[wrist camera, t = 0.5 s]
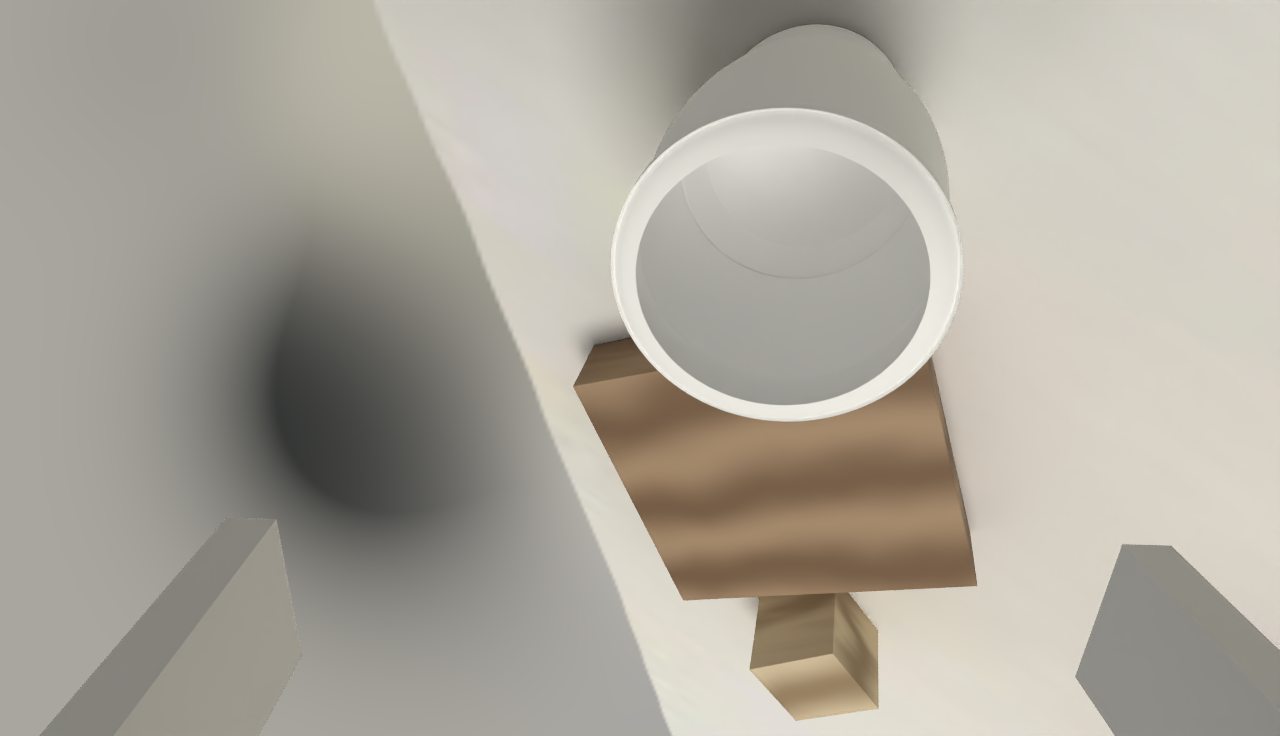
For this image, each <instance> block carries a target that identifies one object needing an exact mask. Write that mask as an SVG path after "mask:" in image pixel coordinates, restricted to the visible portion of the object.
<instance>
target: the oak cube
mask: <svg viewBox="0 0 1280 736" xmlns="http://www.w3.org/2000/svg"><path fill="white" fill-rule="evenodd" d="M750 671H751V672H752V673H753V674H754V675H755V676H756V677H757V678H758V679H759V681H760V682H761V683H762V684H763V685H764V686H765V687H766V688H767V689H768V690H769V691H770V693H771V694H772V695H773V696H774V697H775V698H776V699H777V700H778V701H779V702H780V704H781V705H782V706H783V707H784V708H785V709H786V710H787V711H788V712H789V713H790V715H791V716H792V717H793V718H794V719H795V720H796V721H798V720H804V719H811V718H818V717H825V716H832V715H838V714H845V713H852V712H859V711H865V710H872V709H878V630H877V629H876V628H875V626H874V625H873V624H872V622H871V621H870V620H869V619H868V617H867V616H866V615H865V613H864V612H863V611H862V610H861V608H860V607H859V606H858V604H857V603H856V602H855V601H854V599H853V598H852V597H851V596H850V594H849V593H848V592H843V593H822V594H802V595H782V596H761V597H760V599H759V606H758V613H757V621H756V628H755V635H754V642H753V649H752V656H751V663H750Z"/></svg>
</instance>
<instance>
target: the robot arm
mask: <svg viewBox="0 0 1280 736" xmlns="http://www.w3.org/2000/svg"><path fill="white" fill-rule="evenodd" d="M301 657H302V652H301V647H300V642H299V636H298V631H297V626H296V620H295V615H294V610H293V605H292V599H291V594H290V589H289V584H288V578H287V573H286V568H285V563H284V557H283V552H282V547H281V542H280V536H279V532H278V526H277V521H276V519H247V518H226V519H225V520H224V521H223V522H222V523H221V525H220V526H219V527H218V528H217V529H216V530H215V531H214V533H213V534H212V535H211V536H210V537H209V539H208V540H207V541H206V542H205V543H204V544H203V545H202V547H201V548H200V549H199V550H198V551H197V552H196V554H195V555H194V556H193V557H192V558H191V559H190V561H189V562H188V563H187V564H186V565H185V566H184V568H183V569H182V570H181V571H180V572H179V573H178V575H177V576H176V577H175V578H174V579H173V580H172V582H171V583H170V584H169V585H168V586H167V587H166V589H165V590H164V591H163V592H162V593H161V594H160V596H159V597H158V598H157V599H156V600H155V601H154V603H153V604H152V605H151V606H150V607H149V608H148V610H147V611H146V612H145V613H144V615H142V617H141V618H140V619H139V620H138V621H137V622H136V624H135V625H134V626H133V627H132V628H131V630H130V631H129V632H128V633H127V634H126V635H125V636H124V638H123V639H122V640H121V641H120V642H119V643H118V645H117V646H116V647H115V648H114V649H113V650H112V652H111V653H110V654H109V655H108V656H107V658H106V659H105V660H104V661H103V662H102V663H101V665H100V666H99V667H98V668H97V669H96V670H95V672H94V673H93V674H92V675H91V676H90V678H88V680H87V681H86V682H85V683H84V684H83V685H82V687H81V688H80V689H79V690H78V691H77V693H76V694H75V695H74V696H73V697H72V699H70V701H69V702H68V703H67V704H66V705H65V707H64V708H63V709H62V710H61V711H60V712H59V713H58V715H57V716H56V717H55V718H54V719H53V721H52V722H51V723H50V724H49V725H48V726H47V727H46V729H45V730H44V731H43V732H42V733H41V734H40V736H259V734H260V733H261V731H262V729H263V727H264V725H265V723H266V722H267V720H268V718H269V716H270V714H271V712H272V711H273V709H274V707H275V705H276V703H277V701H278V700H279V698H280V696H281V694H282V692H283V690H284V689H285V687H286V685H287V683H288V681H289V679H290V677H291V676H292V674H293V672H294V670H295V668H296V666H297V665H298V663H299V661H300V659H301ZM1075 677H1076V679H1077V680H1078V682H1079V683H1080V685H1081V686H1082V688H1083V689H1084V690H1085V692H1086V693H1087V695H1088V696H1089V698H1090V699H1091V701H1092V702H1093V704H1094V705H1095V707H1096V708H1097V710H1098V711H1099V713H1100V714H1101V716H1102V717H1103V719H1104V720H1105V722H1106V723H1107V724H1108V726H1109V727H1110V729H1111V730H1112V732H1113V733H1114V735H1115V736H1280V650H1279V649H1278V648H1277V647H1275V646H1274V645H1273V644H1272V643H1271V642H1270V641H1269V640H1268V639H1267V638H1266V637H1265V636H1264V635H1263V634H1262V633H1261V632H1260V631H1259V630H1258V629H1257V628H1256V627H1255V626H1254V625H1253V624H1252V623H1251V622H1250V621H1249V620H1247V619H1246V618H1245V617H1244V616H1243V615H1242V614H1241V613H1240V612H1239V611H1238V610H1237V609H1236V608H1235V607H1234V606H1233V605H1232V604H1231V603H1230V602H1229V601H1228V600H1227V599H1226V598H1225V597H1224V596H1223V595H1222V594H1221V593H1220V592H1218V591H1217V590H1216V589H1215V588H1214V587H1213V586H1212V585H1211V584H1210V583H1209V582H1208V581H1207V580H1206V579H1205V578H1204V577H1203V576H1202V575H1201V574H1200V573H1199V572H1198V571H1197V570H1196V569H1195V568H1194V567H1193V566H1192V565H1190V564H1189V563H1188V562H1187V561H1186V560H1185V559H1184V558H1183V557H1182V556H1181V555H1180V554H1179V553H1178V552H1177V551H1176V550H1175V549H1174V548H1173V547H1172V546H1161V545H1127V544H1122V547H1121V550H1120V553H1119V556H1118V558H1117V561H1116V564H1115V567H1114V570H1113V572H1112V575H1111V578H1110V581H1109V584H1108V586H1107V589H1106V592H1105V595H1104V598H1103V601H1102V603H1101V606H1100V609H1099V612H1098V615H1097V617H1096V620H1095V623H1094V626H1093V629H1092V631H1091V634H1090V637H1089V640H1088V643H1087V645H1086V648H1085V651H1084V654H1083V657H1082V659H1081V662H1080V665H1079V668H1078V671H1077V674H1076V676H1075Z"/></svg>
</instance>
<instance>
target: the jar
mask: <svg viewBox="0 0 1280 736" xmlns="http://www.w3.org/2000/svg"><path fill="white" fill-rule="evenodd" d="M963 273H964V258H963V247H962V241H961V236H960V231H959V228H958V224H957V221H956V217H955V214H954V211H953V208H952V205H951V203H950V193H949V179H948V171H947V165H946V160H945V155H944V151H943V148H942V144H941V141H940V138H939V136H938V133H937V130H936V128H935V126H934V123H933V121H932V119H931V117H930V115H929V113H928V112H927V110H926V108H925V107H924V105H923V103H922V102H921V100H920V99H919V97H918V96H917V95H916V93H915V92H914V91H913V90H912V88H911V87H910V86H909V85H908V84H907V83H906V82H905V81H904V80H903V79H902V78H901V77H900V76H899V75H898V74H897V72H896V70H895V69H894V67H893V65H892V64H891V62H890V61H889V59H888V58H887V57H886V56H885V55H884V53H883V52H882V51H881V50H880V49H879V48H878V47H877V46H875V45H874V44H873V43H872V42H870V41H869V40H867V39H866V38H864V37H863V36H861V35H859V34H857V33H855V32H853V31H850V30H847V29H844V28H841V27H837V26H831V25H821V24H812V25H803V26H797V27H793V28H789V29H786V30H783V31H780V32H778V33H776V34H774V35H772V36H770V37H768V38H766V39H764V40H763V41H761V42H760V43H758V44H757V45H756V46H754V47H753V48H752V49H751V50H750V51H749V52H747V53H746V54H745V55H744V56H742V57H740V58H738V59H737V60H735V61H733V62H732V63H730V64H729V65H727V66H726V67H724V68H723V69H721V70H720V71H719V72H717V73H716V74H715V75H714V76H712V77H711V78H710V79H709V80H708V81H706V82H705V83H704V84H703V85H702V86H701V87H700V88H699V89H698V90H697V91H696V92H695V93H694V94H693V95H692V97H691V98H690V99H689V100H688V101H687V102H686V104H685V105H684V106H683V107H682V109H681V110H680V111H679V113H678V114H677V116H676V117H675V119H674V120H673V122H672V123H671V125H670V127H669V128H668V130H667V132H666V134H665V135H664V137H663V139H662V141H661V143H660V145H659V148H658V150H657V152H656V155H655V157H654V160H653V161H652V162H651V163H650V164H649V165H648V167H647V168H646V169H645V170H644V172H643V173H642V175H641V176H640V178H639V179H638V181H637V182H636V184H635V185H634V187H633V189H632V190H631V192H630V194H629V196H628V198H627V199H626V201H625V204H624V206H623V208H622V210H621V213H620V216H619V218H618V221H617V225H616V228H615V232H614V237H613V243H612V251H611V276H612V285H613V290H614V295H615V299H616V303H617V306H618V309H619V312H620V315H621V317H622V320H623V322H624V324H625V326H626V328H627V330H628V332H629V334H630V336H631V337H632V339H633V341H634V342H635V344H636V345H637V347H638V348H639V350H640V351H641V352H642V353H643V355H644V356H645V357H646V358H647V360H648V361H649V362H650V363H651V364H652V365H653V366H654V367H655V368H656V369H657V370H658V371H659V372H660V373H661V374H662V375H663V376H664V377H665V378H667V379H668V380H669V381H670V382H672V383H673V384H674V385H676V386H677V387H678V388H680V389H681V390H683V391H684V392H686V393H687V394H689V395H691V396H693V397H694V398H696V399H698V400H700V401H702V402H704V403H706V404H708V405H710V406H713V407H715V408H718V409H720V410H723V411H726V412H729V413H732V414H736V415H740V416H744V417H748V418H754V419H760V420H768V421H783V422H793V421H809V420H817V419H823V418H828V417H833V416H837V415H841V414H844V413H847V412H850V411H853V410H856V409H859V408H861V407H864V406H866V405H868V404H870V403H872V402H875V401H876V400H878V399H880V398H882V397H884V396H886V395H887V394H889V393H890V392H892V391H893V390H895V389H896V388H898V387H899V386H901V385H902V384H903V383H905V382H906V381H907V380H908V379H909V378H911V377H912V376H913V375H914V374H915V373H916V372H917V371H918V370H919V369H920V368H921V367H922V366H923V365H924V364H925V363H926V362H927V361H928V359H929V358H930V357H931V356H932V355H933V353H934V352H935V351H936V349H937V348H938V346H939V345H940V343H941V342H942V340H943V338H944V337H945V335H946V333H947V331H948V329H949V327H950V325H951V323H952V321H953V318H954V316H955V313H956V310H957V307H958V303H959V300H960V295H961V290H962V284H963Z"/></svg>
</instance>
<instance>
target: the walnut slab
mask: <svg viewBox="0 0 1280 736" xmlns="http://www.w3.org/2000/svg"><path fill="white" fill-rule="evenodd" d="M573 387H574V389H575V391H576V393H577V395H578V397H579V399H580V401H581V403H582V404H583V406H584V408H585V410H586V412H587V414H588V416H589V418H590V420H591V422H592V424H593V426H594V428H595V430H596V432H597V434H598V436H599V437H600V439H601V441H602V443H603V445H604V447H605V449H606V451H607V453H608V455H609V457H610V459H611V461H612V463H613V465H614V467H615V469H616V470H617V472H618V474H619V476H620V478H621V480H622V482H623V484H624V486H625V488H626V490H627V492H628V494H629V496H630V498H631V500H632V502H633V503H634V505H635V507H636V509H637V511H638V513H639V515H640V517H641V519H642V521H643V523H644V525H645V527H646V529H647V531H648V533H649V535H650V536H651V538H652V540H653V542H654V544H655V546H656V548H657V550H658V552H659V554H660V556H661V558H662V560H663V562H664V564H665V566H666V568H667V570H668V571H669V573H670V575H671V577H672V579H673V581H674V583H675V585H676V587H677V589H678V591H679V593H680V595H681V597H682V599H683V600H700V599H721V598H741V597H761V596H782V595H802V594H822V593H843V592H863V591H884V590H904V589H924V588H945V587H965V586H977V580H976V573H975V566H974V558H973V551H972V544H971V537H970V531H969V526H968V521H967V517H966V512H965V508H964V503H963V499H962V494H961V489H960V485H959V480H958V476H957V471H956V467H955V462H954V457H953V453H952V448H951V444H950V439H949V435H948V430H947V425H946V421H945V416H944V412H943V407H942V403H941V398H940V393H939V389H938V384H937V380H936V375H935V371H934V366H933V361H932V357H930V358H929V359H928V361H927V362H926V363H925V364H924V365H923V366H922V367H921V368H920V369H919V370H918V371H917V372H916V373H915V374H914V375H913V376H912V377H911V378H909V379H908V380H907V381H906V382H905V383H903V384H902V385H901V386H899V387H898V388H896V389H895V390H893V391H892V392H890V393H889V394H887V395H886V396H884V397H882V398H880V399H878V400H876V401H875V402H872V403H870V404H868V405H866V406H864V407H861V408H859V409H856V410H853V411H850V412H847V413H844V414H841V415H837V416H833V417H828V418H823V419H817V420H809V421H793V422H783V421H768V420H760V419H754V418H748V417H744V416H740V415H736V414H732V413H729V412H726V411H723V410H720V409H718V408H715V407H713V406H710V405H708V404H706V403H704V402H702V401H700V400H698V399H696V398H694V397H693V396H691V395H689V394H687V393H686V392H684V391H683V390H681V389H680V388H678V387H677V386H676V385H674V384H673V383H672V382H670V381H669V380H668V379H667V378H665V377H664V376H663V375H662V374H661V373H660V372H659V371H658V370H657V369H656V368H655V367H654V366H653V365H652V364H651V363H650V362H649V361H648V360H647V358H646V357H645V356H644V355H643V353H642V352H641V351H640V350H639V348H638V347H637V345H636V344H635V342H634V341H633V339H632V338H629V339H624V340H619V341H614V342H609V343H604V344H599V345H595V346H594V347H593V349H592V351H591V353H590V354H589V356H588V358H587V360H586V362H585V364H584V366H583V368H582V370H581V372H580V374H579V376H578V378H577V380H576V382H575V384H574V386H573Z"/></svg>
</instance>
